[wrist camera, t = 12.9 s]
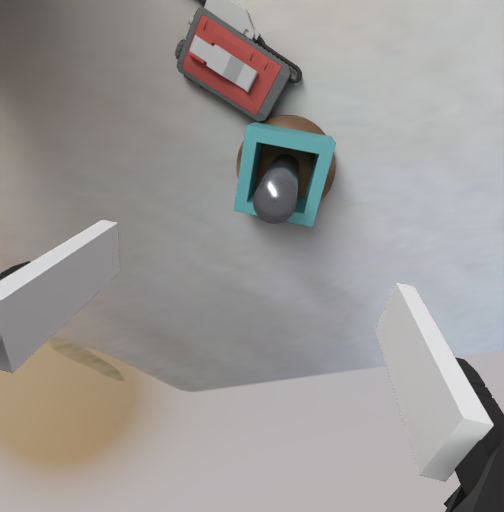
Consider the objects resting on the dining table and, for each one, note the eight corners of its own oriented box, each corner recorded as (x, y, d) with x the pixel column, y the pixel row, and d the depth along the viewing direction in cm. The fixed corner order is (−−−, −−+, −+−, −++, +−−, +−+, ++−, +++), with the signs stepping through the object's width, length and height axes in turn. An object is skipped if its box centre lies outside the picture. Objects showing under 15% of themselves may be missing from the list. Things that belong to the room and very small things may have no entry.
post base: (246, 106, 37) (244, 106, 35) (346, 125, 36) (348, 126, 35) (233, 202, 42) (230, 205, 41) (319, 220, 42) (320, 224, 40)
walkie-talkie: (314, 55, 34) (151, -56, 32) (315, 50, 30) (129, -78, 28) (272, 130, 38) (125, 35, 36) (268, 133, 34) (103, 28, 32)
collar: (254, 121, 36) (245, 125, 31) (331, 136, 35) (335, 142, 30) (243, 196, 40) (233, 210, 35) (311, 210, 40) (312, 227, 34)
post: (273, 151, 37) (256, 177, 25) (302, 157, 37) (300, 185, 25) (267, 180, 39) (249, 218, 26) (295, 186, 39) (291, 227, 26)
